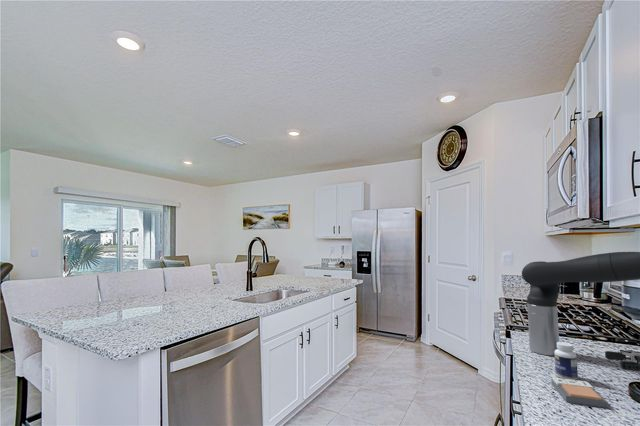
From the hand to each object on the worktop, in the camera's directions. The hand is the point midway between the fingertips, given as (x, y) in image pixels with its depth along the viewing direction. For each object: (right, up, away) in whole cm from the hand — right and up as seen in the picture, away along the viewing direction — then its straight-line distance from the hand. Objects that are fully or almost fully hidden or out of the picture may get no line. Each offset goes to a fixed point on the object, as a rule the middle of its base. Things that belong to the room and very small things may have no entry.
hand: (613, 359), depth 93 cm
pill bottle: (-11, -7, +3) cm, 13 cm away
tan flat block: (-17, -6, -8) cm, 20 cm away
